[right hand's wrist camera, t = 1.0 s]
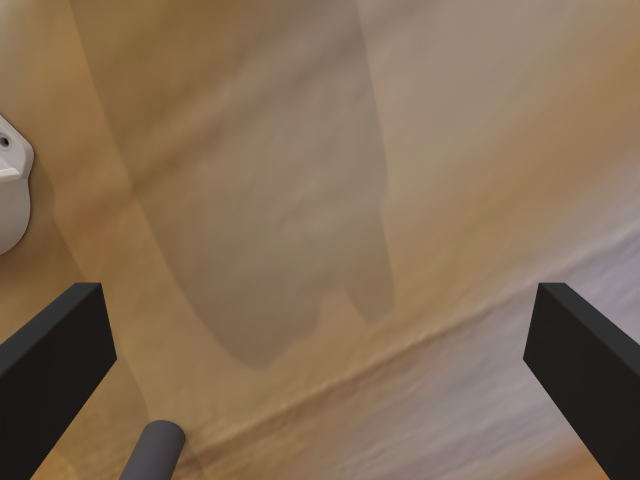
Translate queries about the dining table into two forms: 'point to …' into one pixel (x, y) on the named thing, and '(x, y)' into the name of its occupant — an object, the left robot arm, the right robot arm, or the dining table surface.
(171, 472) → the bottle
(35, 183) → the dining table surface
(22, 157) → the left robot arm
